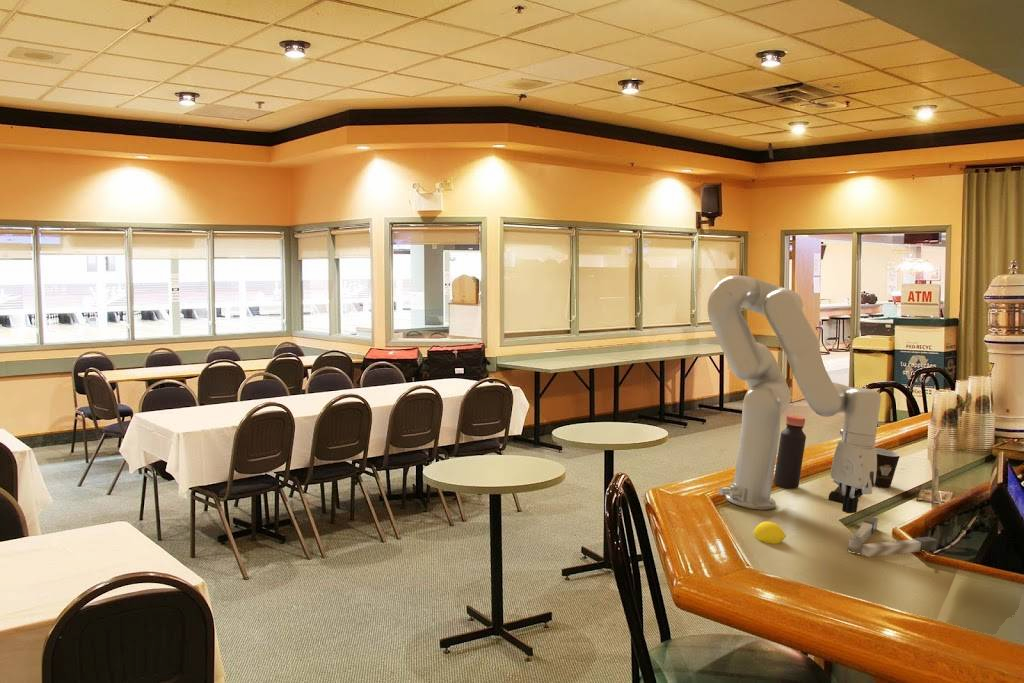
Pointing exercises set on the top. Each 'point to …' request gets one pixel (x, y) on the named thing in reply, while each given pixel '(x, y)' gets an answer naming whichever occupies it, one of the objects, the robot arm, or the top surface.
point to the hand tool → (836, 495)
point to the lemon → (769, 533)
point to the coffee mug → (885, 467)
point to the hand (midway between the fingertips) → (849, 511)
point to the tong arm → (866, 529)
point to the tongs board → (892, 546)
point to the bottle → (790, 453)
